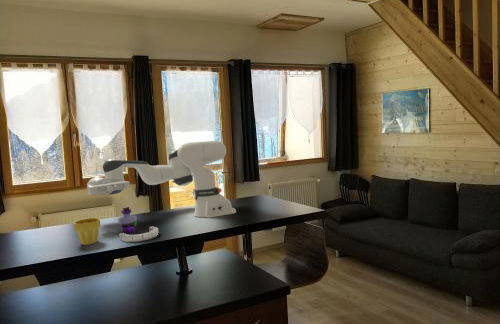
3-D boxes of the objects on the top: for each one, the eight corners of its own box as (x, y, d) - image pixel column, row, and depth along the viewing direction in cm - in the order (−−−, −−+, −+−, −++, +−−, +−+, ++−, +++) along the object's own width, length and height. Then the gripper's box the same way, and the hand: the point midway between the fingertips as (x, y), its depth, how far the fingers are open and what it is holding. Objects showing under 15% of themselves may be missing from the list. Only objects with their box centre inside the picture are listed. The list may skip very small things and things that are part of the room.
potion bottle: (138, 233, 185) (135, 207, 184) (118, 235, 183) (115, 209, 182) (137, 229, 194) (135, 204, 193) (119, 231, 191) (116, 206, 190)
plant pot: (87, 247, 168) (84, 224, 167) (71, 245, 173) (68, 222, 172) (107, 240, 177) (104, 218, 176) (91, 238, 182) (88, 217, 181)
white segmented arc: (119, 239, 176) (119, 234, 176) (153, 231, 186) (152, 226, 186) (129, 244, 167) (129, 238, 167) (164, 235, 178) (164, 229, 177)
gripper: (124, 189, 214) (135, 191, 203) (85, 195, 201) (94, 198, 190) (123, 177, 213) (134, 178, 202) (83, 183, 200) (92, 185, 189)
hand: (114, 188), depth 196 cm, fingers closed
